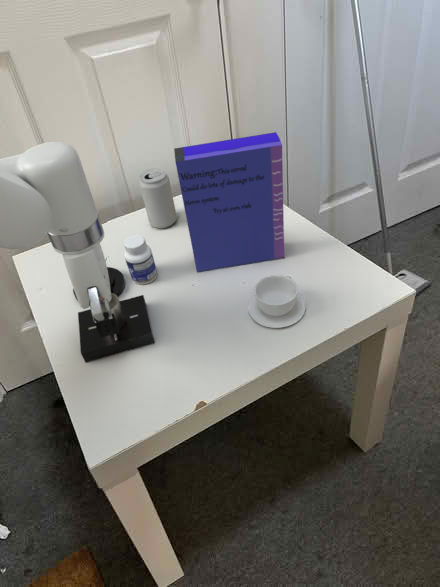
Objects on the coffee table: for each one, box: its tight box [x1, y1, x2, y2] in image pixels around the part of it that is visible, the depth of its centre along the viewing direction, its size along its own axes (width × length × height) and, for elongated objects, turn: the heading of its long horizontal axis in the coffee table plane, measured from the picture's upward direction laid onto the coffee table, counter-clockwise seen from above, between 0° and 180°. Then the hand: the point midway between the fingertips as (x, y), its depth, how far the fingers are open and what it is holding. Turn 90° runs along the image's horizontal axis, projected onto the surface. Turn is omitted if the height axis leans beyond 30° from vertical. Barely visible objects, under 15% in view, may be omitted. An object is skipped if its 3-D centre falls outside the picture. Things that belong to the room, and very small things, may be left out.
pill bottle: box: [123, 234, 158, 286], centre depth 88 cm, size 5×5×9 cm
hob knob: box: [99, 293, 126, 329], centre depth 77 cm, size 4×4×5 cm
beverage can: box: [138, 168, 178, 229], centre depth 100 cm, size 6×6×12 cm
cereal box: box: [173, 131, 285, 273], centre depth 84 cm, size 17×5×24 cm, turn 97°
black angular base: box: [77, 294, 156, 363], centre depth 80 cm, size 12×10×3 cm
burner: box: [72, 266, 126, 307], centre depth 89 cm, size 10×10×2 cm
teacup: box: [247, 274, 307, 329], centre depth 79 cm, size 10×10×5 cm
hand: (107, 313), depth 77 cm, fingers open, 9 cm apart
